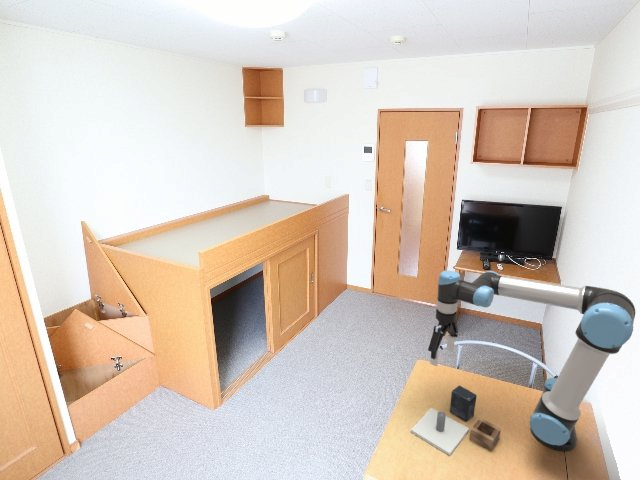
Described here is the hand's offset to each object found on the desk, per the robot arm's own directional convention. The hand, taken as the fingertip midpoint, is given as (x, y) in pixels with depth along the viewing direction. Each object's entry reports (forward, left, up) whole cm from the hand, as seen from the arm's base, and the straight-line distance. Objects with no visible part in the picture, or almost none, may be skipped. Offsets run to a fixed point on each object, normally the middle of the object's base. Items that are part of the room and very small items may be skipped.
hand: (442, 357), depth 156 cm
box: (-10, -2, -23) cm, 26 cm away
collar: (-22, +5, -23) cm, 32 cm away
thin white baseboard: (-8, +13, -23) cm, 28 cm away
